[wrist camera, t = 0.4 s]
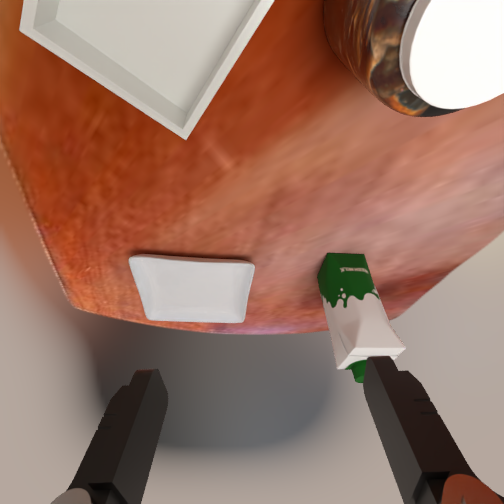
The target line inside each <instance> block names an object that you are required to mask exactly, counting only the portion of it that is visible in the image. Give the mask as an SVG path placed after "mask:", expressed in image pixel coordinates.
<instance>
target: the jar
mask: <svg viewBox="0 0 504 504" xmlns="http://www.w3.org/2000/svg"><path fill="white" fill-rule="evenodd" d="M323 19H324V28H325V32H326V36H327V39H328V42H329V44H330V47H331V48H332V50H333V52H334V53H335V54H336V56H337V57H338V58H339V60H340V61H341V62H342V63H343V64H344V65H345V66H346V67H347V69H348V70H349V71H350V72H351V73H352V74H353V75H354V76H355V77H356V78H357V79H358V80H359V81H360V82H361V84H362V85H363V86H364V87H365V88H366V89H367V90H368V91H369V92H370V93H371V94H373V95H374V96H375V97H376V98H377V99H378V100H379V101H381V102H382V103H383V104H384V105H386V106H387V107H389V108H391V109H393V110H395V111H397V112H399V113H401V114H404V115H408V116H414V117H433V116H440V115H445V114H449V113H453V112H456V111H459V110H462V109H464V108H466V107H471V106H475V105H478V104H481V103H483V102H486V101H488V100H491V99H493V98H495V97H496V96H498V95H500V94H502V93H504V0H324V8H323Z"/></svg>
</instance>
